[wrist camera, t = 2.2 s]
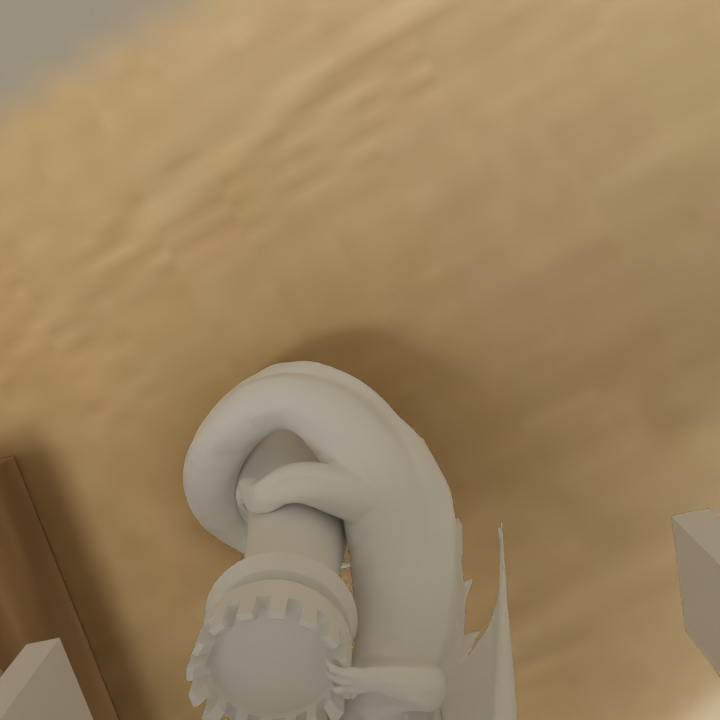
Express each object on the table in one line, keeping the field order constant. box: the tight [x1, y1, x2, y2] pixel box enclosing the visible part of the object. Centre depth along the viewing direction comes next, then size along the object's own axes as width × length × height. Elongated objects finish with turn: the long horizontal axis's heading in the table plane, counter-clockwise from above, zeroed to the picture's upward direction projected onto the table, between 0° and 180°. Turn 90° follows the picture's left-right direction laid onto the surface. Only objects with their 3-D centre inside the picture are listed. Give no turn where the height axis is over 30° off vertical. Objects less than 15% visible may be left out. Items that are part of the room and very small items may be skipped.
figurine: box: [183, 361, 518, 720], centre depth 12 cm, size 11×8×12 cm
